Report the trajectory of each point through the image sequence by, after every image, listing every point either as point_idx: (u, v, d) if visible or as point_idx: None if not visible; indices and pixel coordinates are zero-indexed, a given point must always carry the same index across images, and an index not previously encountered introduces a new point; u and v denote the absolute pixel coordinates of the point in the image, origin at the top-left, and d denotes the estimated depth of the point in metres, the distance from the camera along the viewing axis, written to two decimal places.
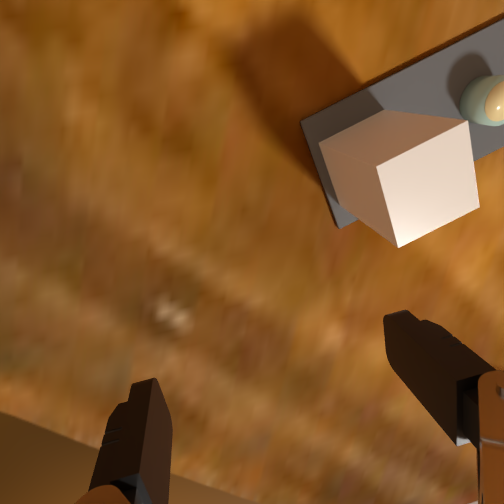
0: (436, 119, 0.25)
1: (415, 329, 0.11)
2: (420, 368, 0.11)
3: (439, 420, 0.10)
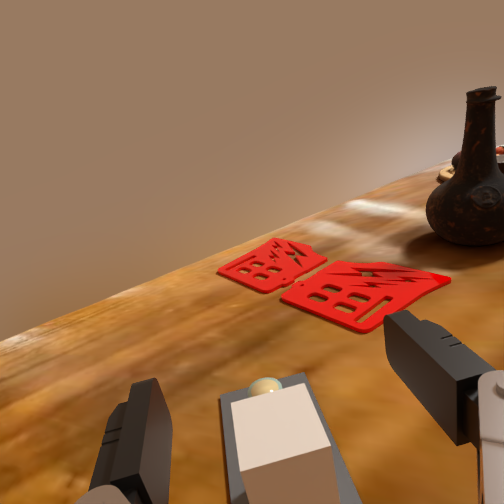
0: None
1: (415, 329, 0.11)
2: (420, 368, 0.11)
3: (438, 420, 0.10)
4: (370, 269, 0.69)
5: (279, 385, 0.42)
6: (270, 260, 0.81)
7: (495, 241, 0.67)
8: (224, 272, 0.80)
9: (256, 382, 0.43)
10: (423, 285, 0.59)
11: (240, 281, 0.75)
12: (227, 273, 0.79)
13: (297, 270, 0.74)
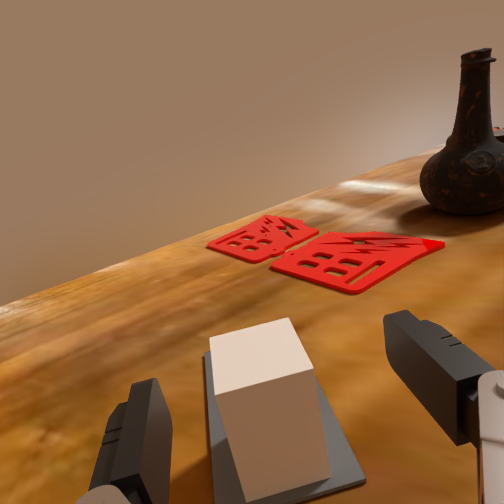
0: None
1: (415, 329, 0.11)
2: (420, 368, 0.11)
3: (439, 420, 0.10)
4: (362, 238, 0.67)
5: None
6: (261, 234, 0.79)
7: (490, 209, 0.65)
8: (213, 246, 0.78)
9: None
10: (416, 250, 0.58)
11: (229, 253, 0.73)
12: (216, 247, 0.77)
13: (288, 242, 0.72)
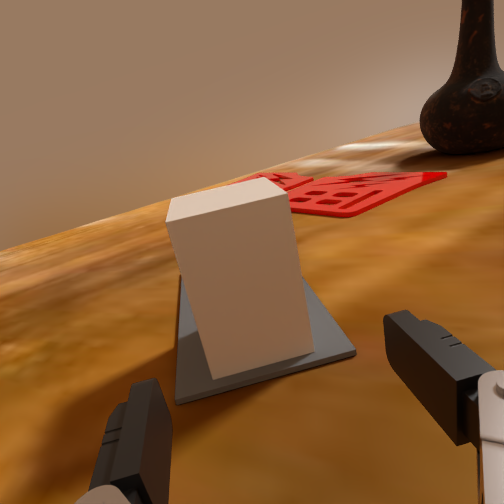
0: None
1: (415, 329, 0.11)
2: (420, 368, 0.11)
3: (439, 420, 0.10)
4: (359, 178, 0.63)
5: None
6: None
7: (495, 143, 0.61)
8: None
9: None
10: (416, 180, 0.53)
11: None
12: None
13: (280, 187, 0.68)
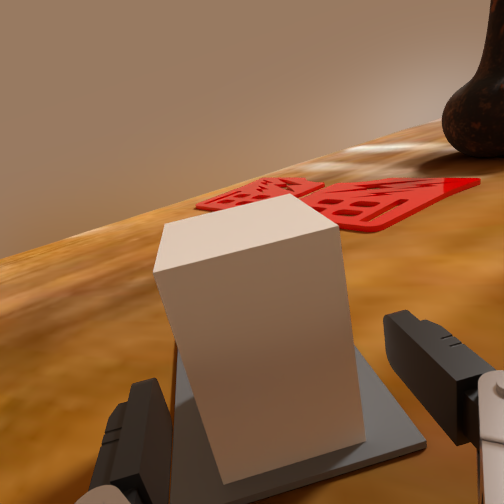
0: None
1: (415, 329, 0.11)
2: (420, 368, 0.11)
3: (438, 420, 0.10)
4: (377, 185, 0.56)
5: None
6: (257, 192, 0.69)
7: None
8: (203, 205, 0.68)
9: None
10: (446, 187, 0.47)
11: None
12: (206, 205, 0.67)
13: None
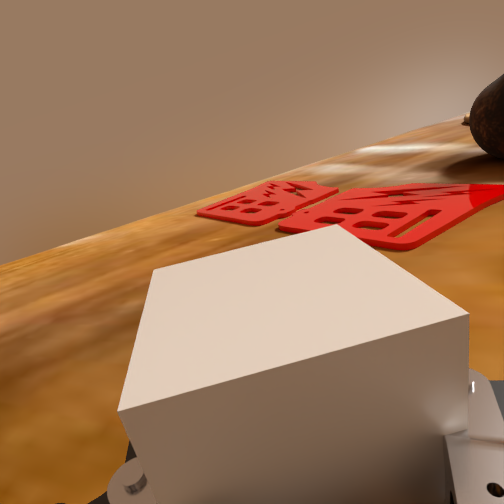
0: None
1: None
2: None
3: None
4: (399, 191, 0.50)
5: None
6: (264, 197, 0.63)
7: None
8: (204, 212, 0.62)
9: None
10: (483, 195, 0.41)
11: (224, 218, 0.57)
12: (208, 212, 0.61)
13: (299, 201, 0.55)
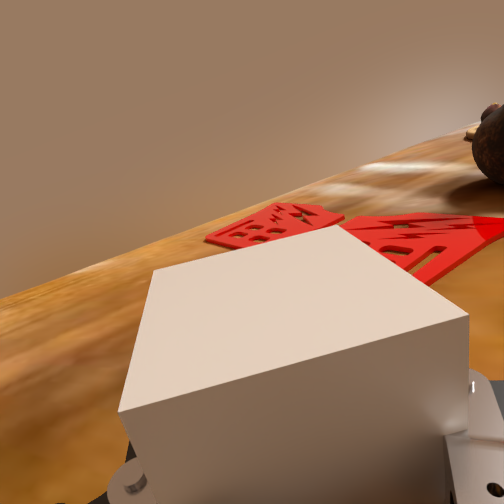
0: None
1: None
2: None
3: None
4: (404, 221, 0.52)
5: None
6: (271, 223, 0.64)
7: None
8: (213, 238, 0.63)
9: None
10: (486, 231, 0.42)
11: (233, 246, 0.58)
12: (217, 239, 0.62)
13: (307, 229, 0.57)
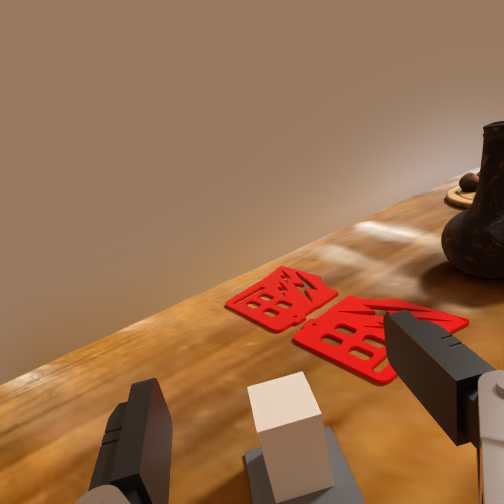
0: None
1: (414, 329, 0.11)
2: (420, 368, 0.11)
3: (439, 420, 0.10)
4: (383, 307, 0.67)
5: None
6: (279, 293, 0.80)
7: None
8: (232, 306, 0.78)
9: None
10: None
11: (250, 317, 0.73)
12: (236, 307, 0.78)
13: (308, 306, 0.72)
